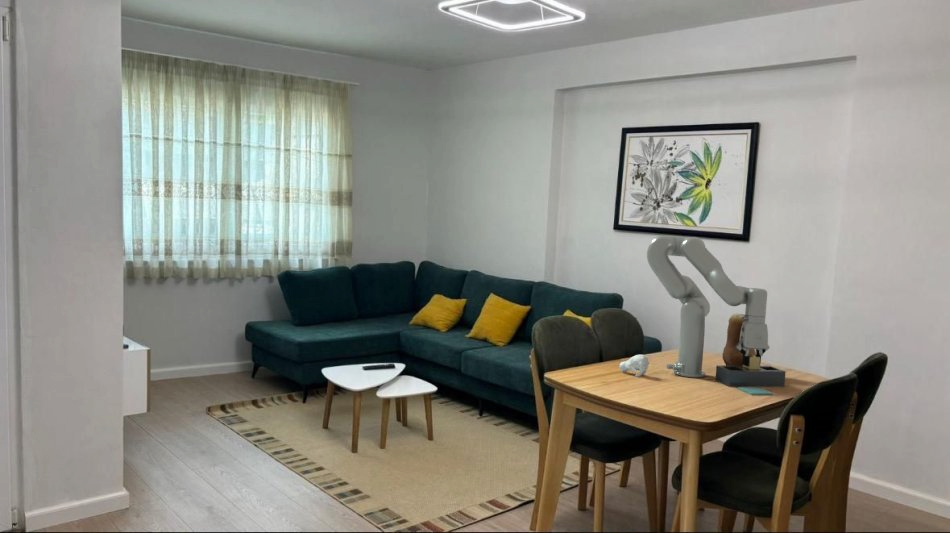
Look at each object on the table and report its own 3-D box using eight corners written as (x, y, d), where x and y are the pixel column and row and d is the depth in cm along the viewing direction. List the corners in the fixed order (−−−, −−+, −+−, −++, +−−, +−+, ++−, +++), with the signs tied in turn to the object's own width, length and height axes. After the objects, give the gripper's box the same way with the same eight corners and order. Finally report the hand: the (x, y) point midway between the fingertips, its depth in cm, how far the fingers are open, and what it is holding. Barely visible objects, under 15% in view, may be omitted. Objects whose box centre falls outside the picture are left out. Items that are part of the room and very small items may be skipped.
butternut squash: (762, 376, 301) (767, 316, 299) (736, 377, 296) (741, 316, 294) (738, 368, 313) (743, 311, 311) (713, 369, 308) (718, 311, 306)
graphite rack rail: (729, 386, 278) (730, 371, 278) (715, 380, 288) (716, 365, 288) (784, 386, 283) (785, 371, 283) (769, 380, 293) (770, 365, 293)
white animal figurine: (643, 356, 285) (616, 354, 292) (643, 377, 285) (616, 375, 292) (650, 354, 290) (623, 352, 297) (650, 375, 290) (623, 372, 297)
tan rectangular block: (747, 384, 283) (750, 357, 282) (741, 382, 287) (743, 354, 287) (757, 384, 284) (760, 357, 283) (751, 382, 288) (753, 354, 287)
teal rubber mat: (751, 395, 266) (751, 393, 266) (737, 388, 275) (737, 387, 275) (773, 394, 268) (773, 393, 268) (758, 388, 277) (758, 387, 277)
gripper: (740, 320, 278) (737, 367, 280) (779, 321, 282) (775, 367, 283) (730, 317, 286) (726, 363, 287) (768, 318, 289) (764, 363, 291)
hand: (751, 365), depth 285 cm, fingers closed on tan rectangular block, 4 cm apart
